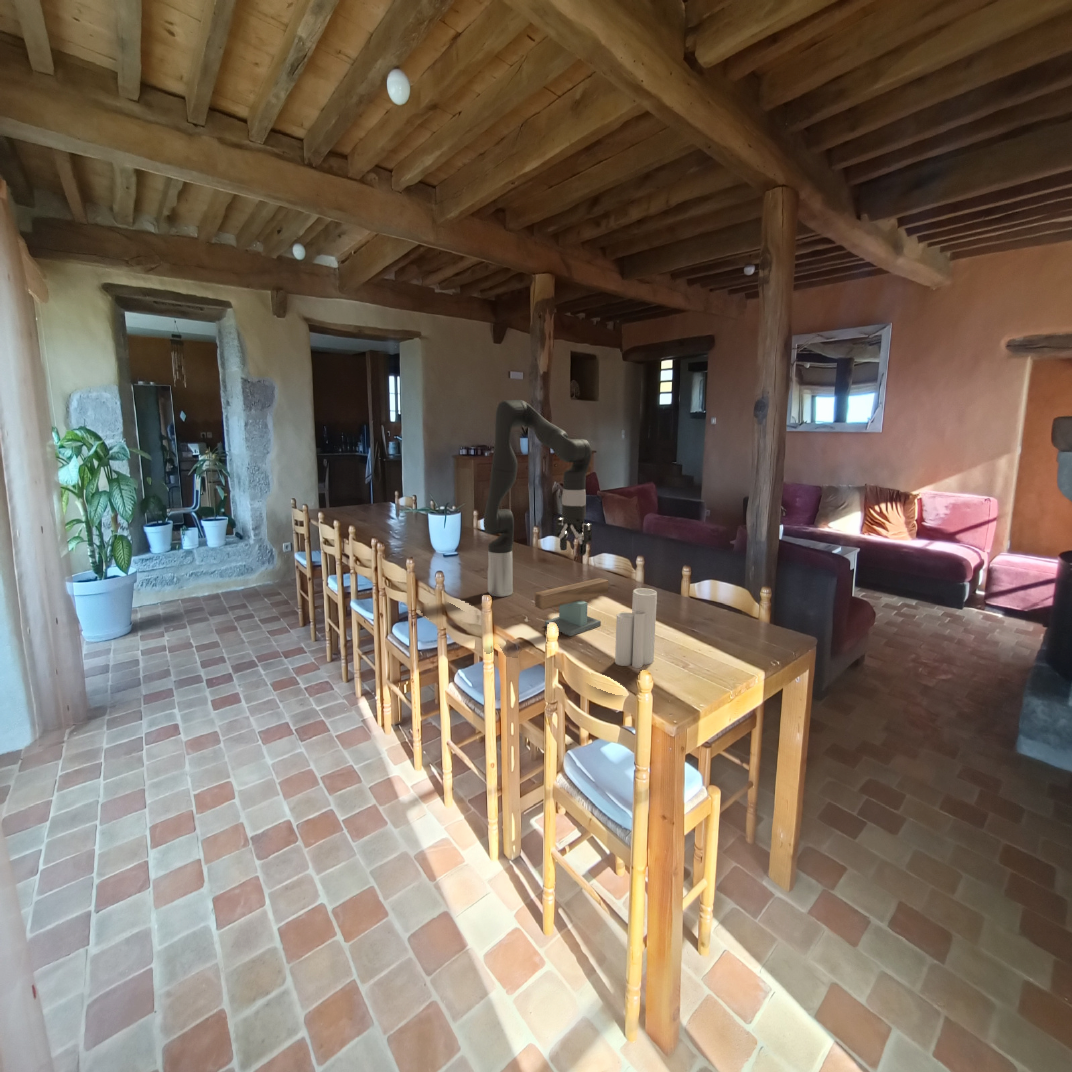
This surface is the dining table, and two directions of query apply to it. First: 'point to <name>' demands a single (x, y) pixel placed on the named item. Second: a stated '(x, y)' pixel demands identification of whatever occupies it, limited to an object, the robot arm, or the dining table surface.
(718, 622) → the dining table surface
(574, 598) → the walnut rod
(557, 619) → the stand
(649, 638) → the grey joined cylinders
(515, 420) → the robot arm
